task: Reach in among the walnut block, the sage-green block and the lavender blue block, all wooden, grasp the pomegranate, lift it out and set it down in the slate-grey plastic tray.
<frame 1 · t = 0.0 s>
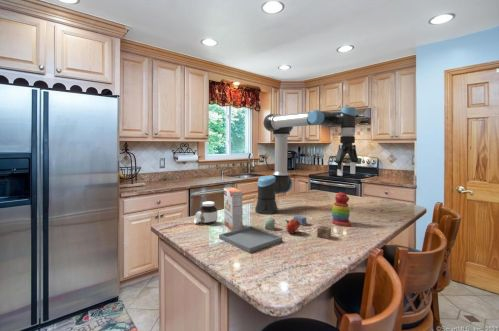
hand: (346, 174, 145), 28 cm above the counter, tool pointing down, fingers open, 13 cm apart
walnut block: (323, 237, 127), on the counter
pomegranate: (293, 233, 133), on the counter
lavender blue block: (299, 224, 148), on the counter
tray: (250, 239, 123), on the counter
cracker box: (232, 228, 141), on the counter
sage block: (269, 228, 140), on the counter
spread jar: (205, 223, 150), on the counter
stacking bear: (341, 223, 149), on the counter
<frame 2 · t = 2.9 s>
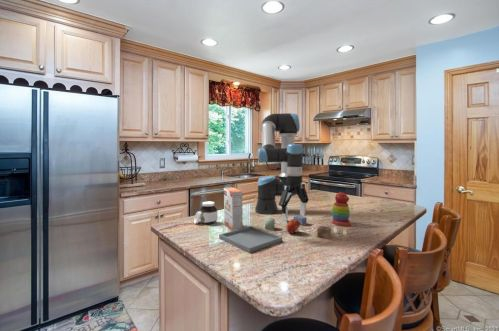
hand: (294, 217, 132), 8 cm above the counter, tool pointing down, fingers open, 13 cm apart
nothing on the counter moved.
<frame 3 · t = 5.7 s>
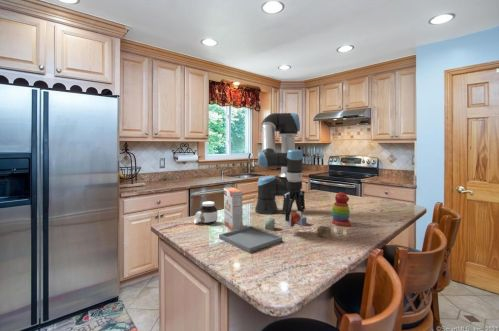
hand: (293, 225, 133), 4 cm above the counter, tool pointing down, fingers closed on pomegranate, 7 cm apart
pomegranate: (293, 226, 133), point 3 cm above the counter, touching gripper
everything else where it was.
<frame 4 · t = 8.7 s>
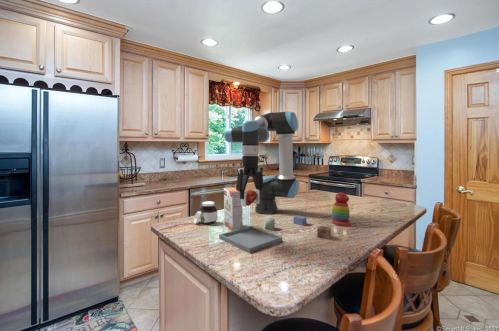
hand: (250, 204, 122), 17 cm above the counter, tool pointing down, fingers closed on pomegranate, 7 cm apart
pomegranate: (250, 205, 122), point 16 cm above the counter, touching gripper
everything else where it was.
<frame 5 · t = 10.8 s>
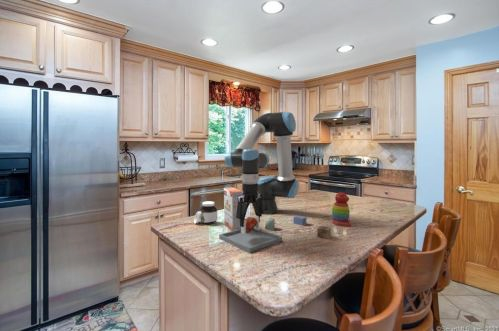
hand: (250, 231, 123), 4 cm above the counter, tool pointing down, fingers closed on pomegranate, 7 cm apart
pomegranate: (250, 232, 123), point 4 cm above the counter, touching gripper
everything else where it was.
when the fingers open (2 cm above the counter, at t = 12.1 s): pomegranate drops 1 cm, resting on tray.
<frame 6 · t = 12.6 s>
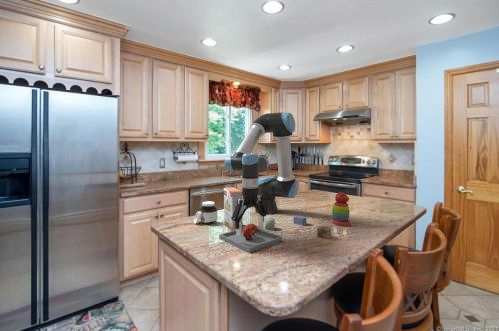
hand: (250, 232, 123), 4 cm above the counter, tool pointing down, fingers open, 13 cm apart
pomegranate: (250, 238, 123), resting on tray
everything else where it was.
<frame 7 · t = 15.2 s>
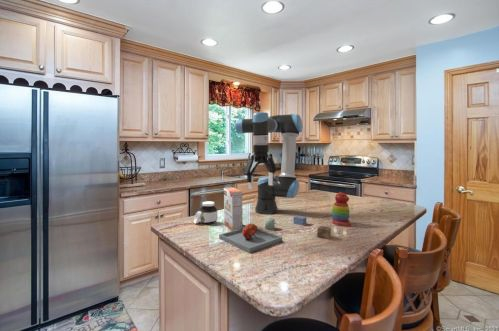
hand: (261, 187, 132), 23 cm above the counter, tool pointing down, fingers open, 13 cm apart
nothing on the counter moved.
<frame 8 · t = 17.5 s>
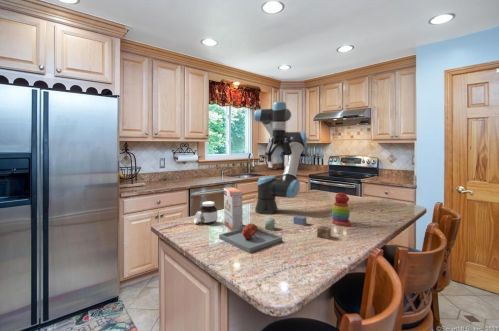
hand: (278, 166, 152), 32 cm above the counter, tool pointing down, fingers open, 13 cm apart
nothing on the counter moved.
at the end: pomegranate inside the target area on the tray (0.3 cm from its centre), point 0.4 cm above the tray's base; the gripper is holding nothing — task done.
